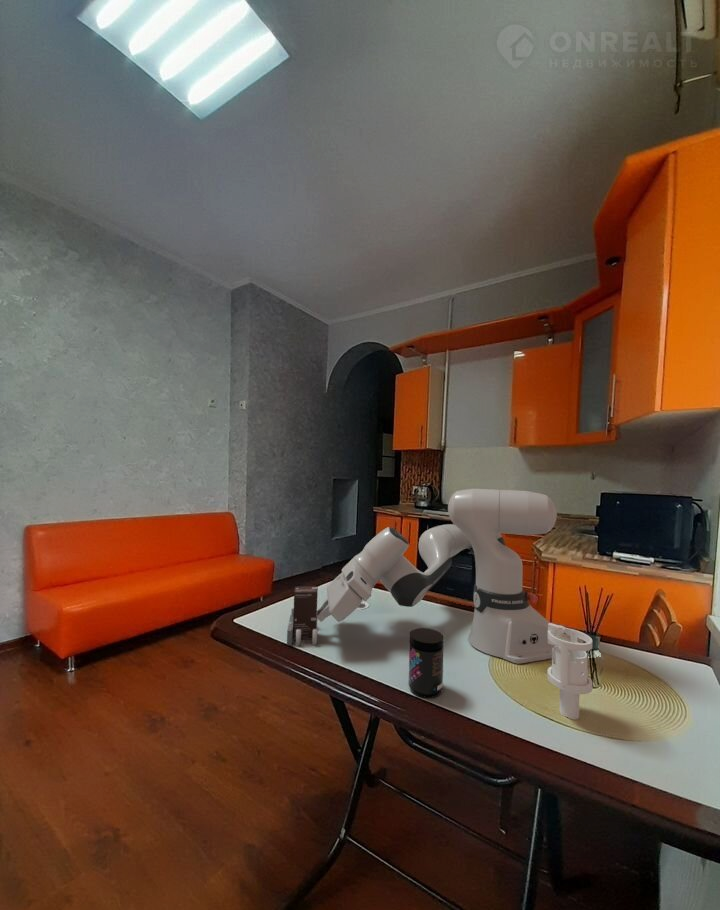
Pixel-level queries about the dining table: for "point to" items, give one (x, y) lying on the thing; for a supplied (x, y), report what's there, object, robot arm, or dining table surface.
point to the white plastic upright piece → (569, 668)
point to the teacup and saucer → (364, 607)
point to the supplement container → (426, 662)
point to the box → (305, 611)
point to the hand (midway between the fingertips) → (318, 617)
